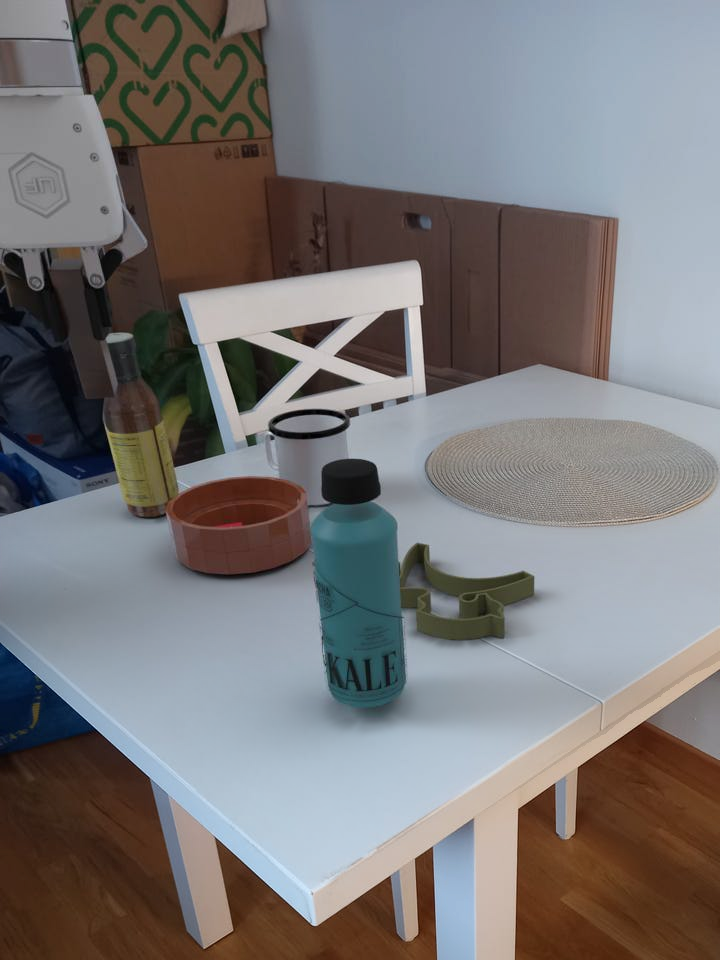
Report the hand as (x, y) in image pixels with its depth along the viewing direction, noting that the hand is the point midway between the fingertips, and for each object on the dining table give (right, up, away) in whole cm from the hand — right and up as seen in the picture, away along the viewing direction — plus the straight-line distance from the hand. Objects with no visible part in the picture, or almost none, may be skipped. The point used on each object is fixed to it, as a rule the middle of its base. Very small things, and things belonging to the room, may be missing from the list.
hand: (82, 335), depth 75 cm
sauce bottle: (-6, -10, +33) cm, 35 cm away
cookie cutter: (+28, -21, +14) cm, 38 cm away
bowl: (+7, -15, +24) cm, 29 cm away
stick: (0, -3, +5) cm, 6 cm away
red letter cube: (+7, -16, +21) cm, 27 cm away
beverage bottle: (+23, -30, -1) cm, 38 cm away
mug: (+11, -7, +37) cm, 40 cm away
